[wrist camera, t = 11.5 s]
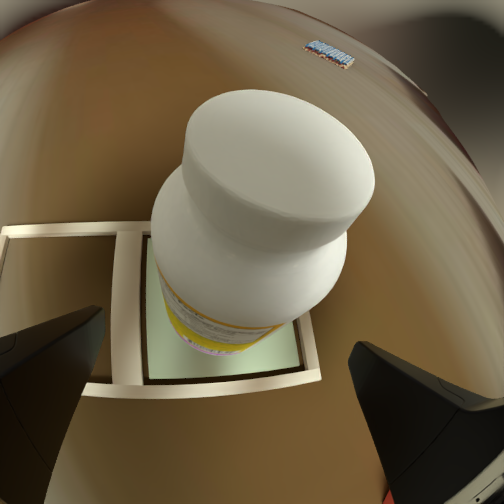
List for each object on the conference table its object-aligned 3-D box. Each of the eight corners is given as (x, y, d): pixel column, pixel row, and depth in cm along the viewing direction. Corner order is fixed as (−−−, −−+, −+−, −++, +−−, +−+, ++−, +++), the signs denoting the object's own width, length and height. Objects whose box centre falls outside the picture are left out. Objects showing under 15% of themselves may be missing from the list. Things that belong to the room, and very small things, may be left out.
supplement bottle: (238, 243, 19) (308, 72, 8) (289, 325, 17) (442, 210, 6) (148, 280, 17) (114, 92, 6) (196, 376, 15) (236, 346, 4)
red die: (418, 504, 12) (464, 512, 7) (382, 504, 12) (431, 519, 7) (438, 455, 14) (486, 455, 10) (406, 450, 14) (459, 453, 10)
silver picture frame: (-15, 376, 10) (-19, 375, 10) (5, 229, 15) (2, 226, 15) (318, 380, 16) (321, 379, 16) (287, 226, 21) (290, 222, 21)
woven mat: (353, 64, 50) (357, 58, 48) (345, 72, 45) (348, 64, 43) (314, 45, 51) (317, 38, 49) (300, 50, 45) (303, 42, 44)
